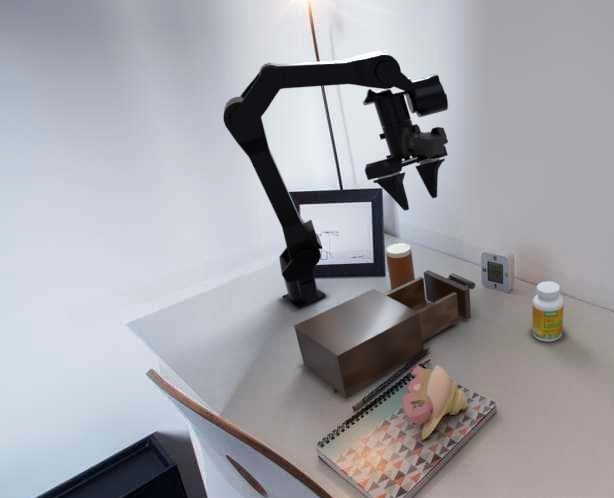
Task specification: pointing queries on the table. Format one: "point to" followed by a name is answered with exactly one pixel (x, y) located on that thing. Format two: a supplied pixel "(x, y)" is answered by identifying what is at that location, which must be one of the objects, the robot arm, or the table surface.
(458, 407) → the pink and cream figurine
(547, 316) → the supplement bottle
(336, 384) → the cabinet
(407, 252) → the pill bottle
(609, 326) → the table surface
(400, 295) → the drawer
